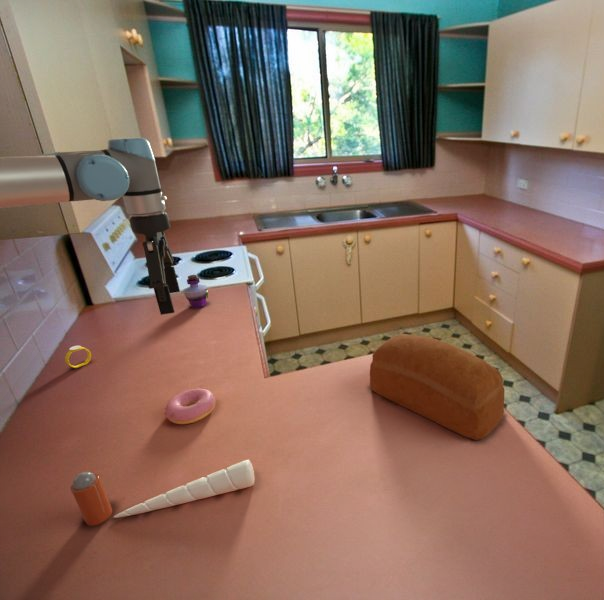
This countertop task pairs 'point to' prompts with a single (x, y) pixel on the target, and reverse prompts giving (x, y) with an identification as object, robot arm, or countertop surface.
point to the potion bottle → (195, 292)
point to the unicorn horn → (199, 488)
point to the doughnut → (190, 406)
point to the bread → (439, 383)
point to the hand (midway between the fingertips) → (171, 302)
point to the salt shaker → (91, 498)
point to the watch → (74, 349)
